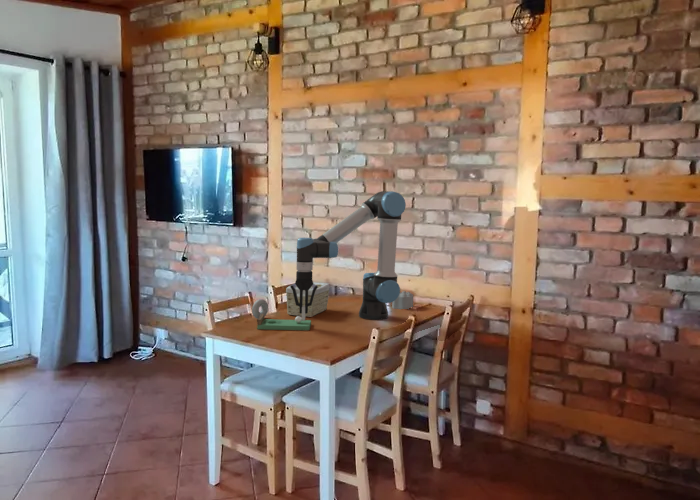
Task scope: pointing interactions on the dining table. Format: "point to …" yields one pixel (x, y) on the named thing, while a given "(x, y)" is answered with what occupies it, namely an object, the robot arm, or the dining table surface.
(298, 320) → the ball
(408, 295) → the lumpy-topped squat cylinder
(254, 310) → the donut
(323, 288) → the storage basket
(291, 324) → the mat
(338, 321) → the dining table surface
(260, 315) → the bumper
